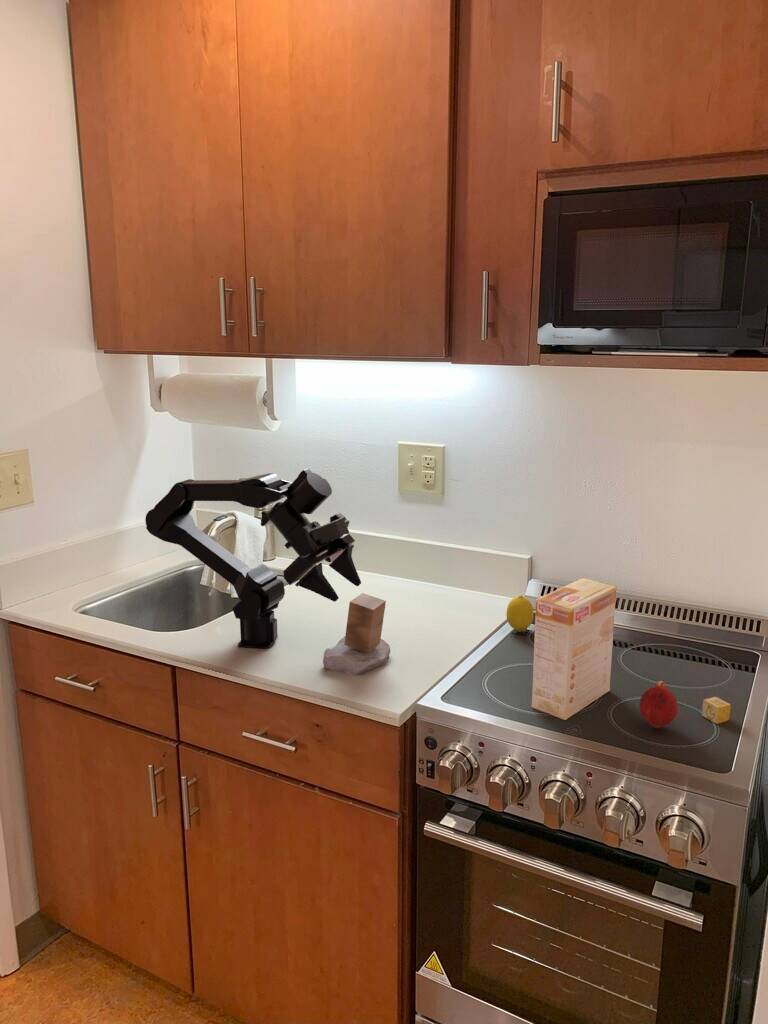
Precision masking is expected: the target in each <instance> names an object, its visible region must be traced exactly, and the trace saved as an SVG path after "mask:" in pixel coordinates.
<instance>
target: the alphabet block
mask: <svg viewBox="0 0 768 1024" xmlns="http://www.w3.org/2000/svg"><path fill="white" fill-rule="evenodd" d="M731 706H732V705H731V703H729V702H727V701H724V700H723V699H721V698H720V697H717V696H712V697H709V698H706V699H703V702H702V709H701V716H702V717H704V718H706V719H707V720H709V721H711V722H712V723H713V724H716V725H718V724H721V723H724V722H727V721H729V720H730V714H731Z"/></svg>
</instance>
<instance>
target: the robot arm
mask: <svg viewBox="0 0 768 1024" xmlns="http://www.w3.org/2000/svg"><path fill="white" fill-rule="evenodd" d="M331 486H332V485H331V484H330V483H329V482H328V480H327V479H326V478H324V477H322V476H320V474H318V473H316V472H312V470H311V469H310V468H305V469H303V470H302V471H301V472H300V473H299V474H298V476H297V477H296V478H295V479H294V481H288V480H285V479H281V478H280V477H279V475H278V474H276V473H273V472H270V473H269V472H268V473H265V474H260V475H256V476H252V477H247V478H243V479H222V480H221V479H217V480H216V479H212V480H210V479H208V480H207V479H206V480H205V479H201V480H199V479H197V480H195V479H191V478H189V479H186V480H181V481H178V482H176V483H174V484H173V486H172V487H171V488H170V490H169V491H168V493H166V495H165V496H163V497H162V498H161V499H160V500H159V502H158V503H156V504H155V506H154V507H153V508H152V509H150V510H148V511H147V513H146V515H145V525H146V527H145V528H146V530H147V532H148V533H149V534H150V535H152V536H154V537H156V538H157V539H158V540H161V541H162V542H165V543H171V544H175V545H178V546H181V547H182V548H184V550H186V551H187V552H188V553H190V555H192V556H194V557H195V558H196V559H198V560H199V561H200V562H202V563H203V564H204V565H206V566H207V567H208V568H210V570H212V571H214V572H215V573H216V574H217V575H219V577H221V578H223V579H224V580H225V581H227V582H228V583H229V584H231V586H233V588H234V591H235V593H236V596H237V598H238V599H239V600H240V601H239V602H238V603H236V604H235V605H234V607H232V611H233V614H234V618H235V619H238V620H239V627H240V628H239V629H240V632H239V633H240V641H239V642H238V643H237V646H238V647H242V648H255V649H258V648H259V649H270V648H271V646H272V645H273V644H274V642H275V641H276V640H277V638H278V636H279V635H278V619H277V618H275V611H274V610H276V609H277V608H278V607H279V604H280V602H282V600H283V599H284V597H285V594H286V593H285V591H286V590H285V586H284V585H285V584H284V582H283V581H282V579H281V578H280V577H279V576H280V574H279V573H276V572H274V571H272V570H271V569H270V568H269V567H268V566H267V565H266V564H263V563H262V564H260V565H257V566H256V567H252V566H249V565H248V564H246V563H245V562H243V561H242V560H241V559H240V558H238V557H237V556H236V555H235V554H233V553H231V552H230V550H228V549H226V548H224V546H222V545H220V543H218V542H217V541H216V540H214V539H213V538H211V537H210V536H209V535H208V534H206V533H205V532H204V531H202V530H201V529H199V528H198V527H197V526H196V523H195V520H194V518H193V516H192V514H191V512H192V510H193V509H194V505H195V502H233V503H238V504H240V505H242V506H245V507H249V508H255V509H262V508H265V507H267V506H270V505H272V504H274V505H273V506H272V507H271V508H270V509H266V510H264V511H262V512H261V519H260V527H265V526H267V525H270V524H272V525H273V526H274V527H275V528H276V530H277V531H278V532H279V534H281V536H282V538H283V539H285V541H286V543H284V546H285V548H286V549H287V550H289V549H291V548H292V549H293V550H294V551H295V553H296V554H297V555H298V556H297V557H296V558H295V559H294V560H293V561H292V562H291V563H290V564H289V565H288V566H287V567H286V568H285V569H284V570H283V579H284V580H285V581H286V583H287V584H288V585H289V586H292V585H293V584H294V586H295V587H301V588H303V589H306V590H307V591H311V592H313V593H315V594H317V595H319V596H321V597H324V598H325V599H328V600H330V601H332V602H337V601H338V600H339V596H338V594H337V592H336V590H335V589H334V587H332V585H331V583H330V582H329V581H328V579H327V578H326V576H325V575H324V572H323V561H325V562H328V563H329V564H328V566H329V567H330V568H331V569H333V570H334V572H336V573H338V574H339V575H341V576H342V577H343V578H345V579H346V581H349V582H350V583H351V584H353V585H354V586H356V587H359V586H360V585H361V584H362V581H361V578H360V576H359V573H358V572H357V569H356V567H355V563H354V561H353V557H352V556H353V555H352V553H353V550H354V547H355V546H354V543H355V542H356V540H355V539H354V538H353V536H352V535H351V534H350V531H349V524H350V520H348V519H347V518H346V516H345V515H343V514H342V513H341V512H338V513H336V514H333V515H331V516H329V517H330V518H329V522H327V523H325V524H322V525H321V524H320V523H319V522H318V521H315V520H314V521H312V522H311V521H310V520H309V518H308V517H307V516H306V515H311V514H313V513H314V512H315V511H316V510H317V509H318V508H319V507H320V506H321V505H322V504H323V503H325V501H326V500H327V499H328V498H329V497H330V496H331V495H332V494H333V490H332V487H331ZM284 498H285V500H284V501H281V500H282V499H284Z"/></svg>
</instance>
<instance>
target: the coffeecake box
mask: <svg viewBox="0 0 768 1024" xmlns="http://www.w3.org/2000/svg"><path fill="white" fill-rule="evenodd" d="M616 597H617V586H616V585H611V584H607V583H602V582H600V581H596V580H594V579H589V578H584V577H583V578H579V579H578V580H575V581H573V582H571V583H569V584H567V585H564V586H562V587H559V588H558V589H555V590H553V591H552V592H549V593H547V594H545V595H542V596H541V597H538V598H536V599H535V614H534V617H535V618H534V641H533V646H534V647H533V666H532V687H531V688H532V690H531V691H532V694H531V708H533V709H535V710H537V711H541V712H542V713H545V714H546V713H547V714H549V715H552V716H553V717H556V718H558V719H561V720H563V721H566V720H568V719H569V718H571V717H572V716H574V715H575V714H577V713H578V712H579V711H581V710H583V709H584V708H586V707H587V706H588V705H590V704H592V703H593V702H595V701H596V700H598V699H600V698H601V697H602V696H604V695H605V694H607V693H608V692H610V690H611V688H610V687H611V673H612V657H613V645H614V644H613V642H614V630H615V629H614V627H615V611H616Z"/></svg>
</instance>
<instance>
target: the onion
mask: <svg viewBox="0 0 768 1024" xmlns="http://www.w3.org/2000/svg"><path fill="white" fill-rule="evenodd" d="M665 685H666V683H665V682H664V680H659V681H657V684H656V685H655V686H652V687H650V688H649V689H647V690H646V691H645V692H644V693H642V695H641V697H640V702H639V711H640V715H641V716H642V718H643V720H645V722H647V724H649V725H650V726H652V727H653V728H655V729H661V728H662V727H666V726H667V725H669V724H671V723H672V722H673V721H674V720H675V719H676V718H677V715H678V711H679V707H678V701H677V698H676V696H675V695H674V693H672V691H671V690H670V689H669V688H667V687H666V686H665Z"/></svg>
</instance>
